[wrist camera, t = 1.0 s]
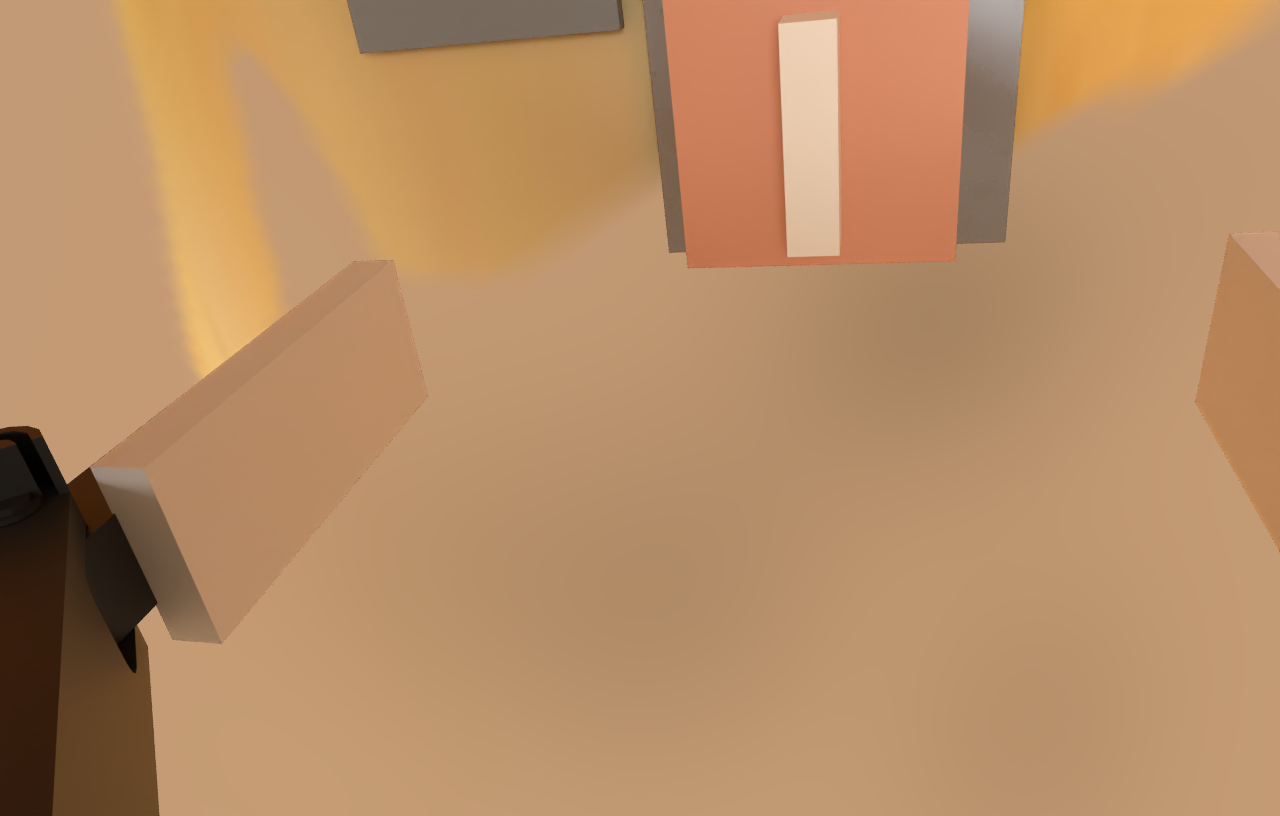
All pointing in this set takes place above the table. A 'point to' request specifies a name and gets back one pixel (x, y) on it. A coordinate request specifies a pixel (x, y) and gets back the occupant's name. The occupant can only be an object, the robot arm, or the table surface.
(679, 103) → the orange block
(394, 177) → the table surface
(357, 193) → the table surface
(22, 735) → the robot arm
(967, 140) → the grey peg stand
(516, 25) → the mat
